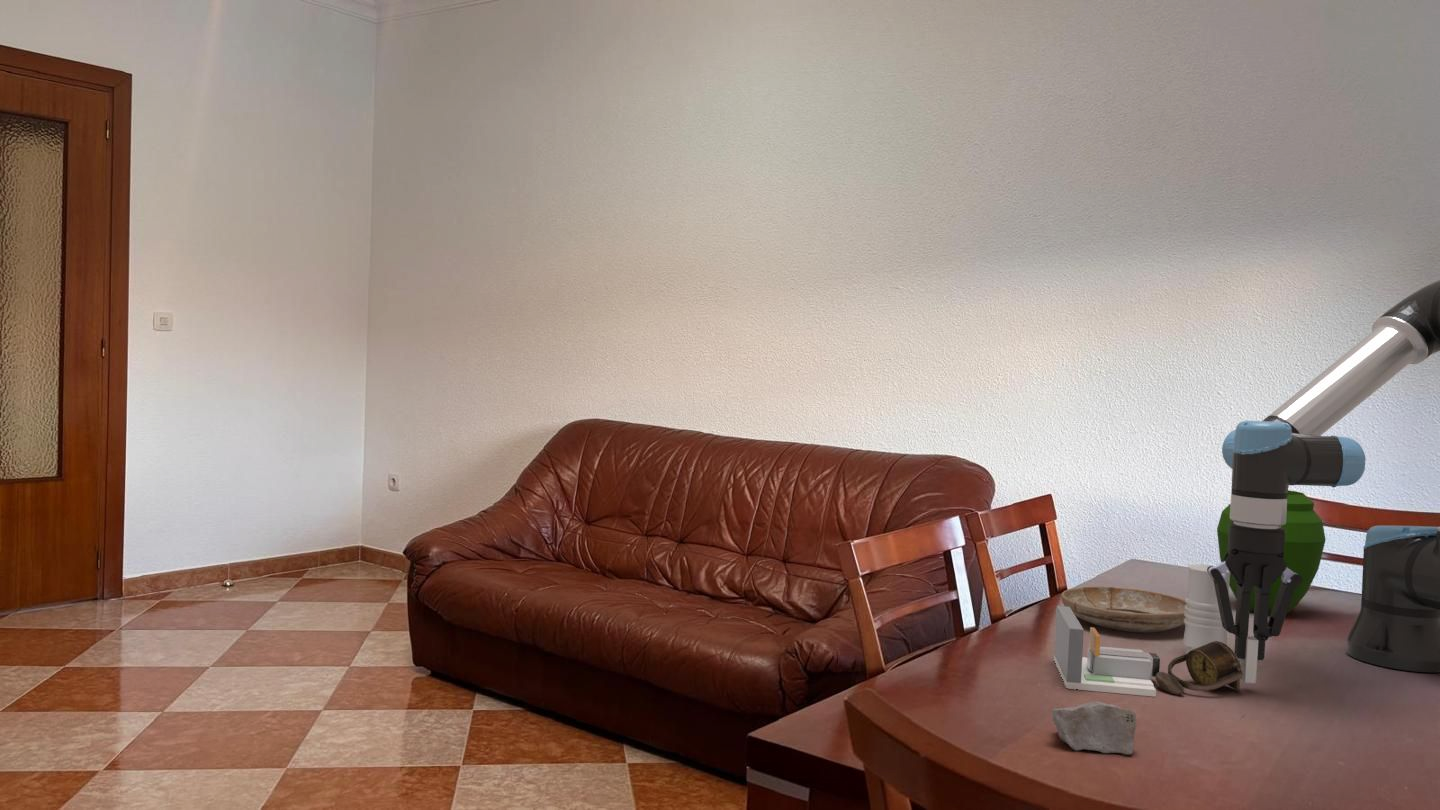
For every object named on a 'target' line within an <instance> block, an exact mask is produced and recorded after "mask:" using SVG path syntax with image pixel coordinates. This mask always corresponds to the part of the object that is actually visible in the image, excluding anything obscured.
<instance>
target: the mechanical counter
mask: <svg viewBox="0 0 1440 810" xmlns="http://www.w3.org/2000/svg"><path fill="white" fill-rule="evenodd" d="M1183 662H1185V665H1186V667H1187V671H1188V673H1189V675H1190V677H1191V679H1192V680H1193V681H1194V682H1195V683H1192V682H1188V681H1186V680H1183V679H1180V678H1179V677H1178V676H1176V675H1175V674H1174V673H1173V671H1172V670H1173V668H1174V667H1175V665H1178V664H1181V663H1183ZM1240 664H1241V662H1240V661H1239V658H1237V657H1236V655H1235V653H1234V650H1233V649H1231V647H1230V646H1228V644H1227V645H1226V644H1224V643H1222V642H1219V641H1213V642H1210V643H1208V644H1206V645H1203V646H1201V647H1198V648H1196V649H1193V650H1191V651H1189V652H1188V653H1187V654H1182V655H1180V656H1178V657H1175V658H1173V659H1172V660H1171V661H1170V662H1169V663H1168V665H1167V672H1164V671H1159V672H1158V673H1157V674H1156V677H1155V680H1156V683H1157V684H1158V686H1159V688H1160V689H1161V690H1162V691H1164V692H1166V693H1169V694H1171V695H1176V696H1180V695H1182V694H1184V693H1185V689H1186V690H1190V691H1195V692H1197V691H1199V692H1200V691H1201V692H1203V691H1206V692H1207V691H1210V692H1212V691H1215V690H1217V689H1221V688H1222V687H1224V686H1228V687H1230V688H1231V689H1233V690H1235V691H1237V692H1239V691H1240V689H1241V688H1240V687H1241V685H1240V683H1241V680H1242V679H1241V678H1242V676H1243V673H1242V670H1241V665H1240Z"/></svg>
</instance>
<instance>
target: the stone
mask: <svg viewBox="0 0 1440 810" xmlns="http://www.w3.org/2000/svg"><path fill="white" fill-rule="evenodd" d="M1051 712H1052V721H1053V723H1054V725H1055V727H1056V729H1057V733H1058V734H1057V735H1058V737H1059V739H1060V740H1061V741H1062V742H1064V743H1066V745H1068V746H1069V747H1070V748H1071V749H1072V750H1074V751H1076V752H1078V751H1084V750H1087V751H1096V752H1100V753H1102V754H1112V753H1113V754H1114V753H1117V754H1122V755H1127V756H1128V755H1132V754H1133V752H1134V743H1135V734H1136V729H1137V718H1136V717H1137V714H1136V713H1135V711H1134V710H1133V709H1127V708H1121V707H1119V706H1117V705H1116V704H1109V703H1105V702H1102V701H1095V700H1094V701H1091V702H1085V703H1081V704H1079V705H1078V706H1074V707H1071V706H1070V707H1069V706H1068V707H1063V708H1053V709H1052V711H1051Z"/></svg>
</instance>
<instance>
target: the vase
mask: <svg viewBox="0 0 1440 810" xmlns="http://www.w3.org/2000/svg"><path fill="white" fill-rule="evenodd" d="M1230 505H1231V502H1230V503H1229V504H1228V505H1227V506H1226V507H1225V508H1224V509H1223V510H1222V511H1221V514H1220V517H1219V521H1218V524H1217V527H1216V533H1217V534H1216V535H1217V541H1218V551H1219V552H1218V553H1219V560H1220V562H1221V563H1222V562H1223V559H1224V557H1225V555H1226V554H1227V551H1228V535H1229V525H1231V523H1234V521H1233V520H1231V519H1230ZM1314 507H1315V502H1314V501H1313V500H1312V499H1311V498H1309V497H1308V496H1307V495H1306V494H1305V493H1304V492H1300V491H1296V490H1295V491H1294V490H1290V489H1288V498H1287V513H1286V524H1284V525H1281V527H1282V528H1283V529H1284V530H1285V545H1284V559H1285V561H1286V563H1287V568H1289V569H1290V570H1291V571H1293V572H1295V573H1297V574H1299V575H1301V576H1302V578H1303V580H1302V582H1301V583H1300V584H1299V585H1298V586H1297V588H1296V589H1295V590H1294V593H1293V596H1292V599H1291V602H1290V605H1289V608H1288V611H1287V614H1288V613H1290V612H1291V611H1293V609H1295V607H1297V606H1298V605H1299V603H1300V602H1301V601H1302V599H1303V598H1304V597H1305V596H1306V595H1307V593H1308V591H1309V590H1310V587H1311V585H1312V584H1313V582H1314V579H1315V577H1316V575H1317V573H1318V570H1319V568H1320V565H1321V560H1322V556H1323V552H1324V548H1325V544H1326V535H1325V533H1326V532H1325V529H1324V522H1323V520H1322V518H1321V517H1320V516H1319V514H1318V513H1317V512H1316V511H1315V509H1314ZM1281 577H1282V574H1281V575H1280V576H1279V577H1278V578H1277V580H1276V581H1275V582H1274V583H1273V584H1272V585H1271V592H1270V595H1269V607H1268V615H1269V616H1270V615H1271V612H1272V608H1273V605H1274V602H1275V599H1276V596H1277V593H1278V590H1279V587H1280V585H1281V583H1282V580H1281ZM1236 584H1237V582H1236V580H1235V579H1234V578H1233V576H1232V575H1230V581H1229V589H1230V590H1231V592H1232V593H1233V595H1234V597H1235V599H1236V600H1237V587H1236ZM1254 607H1255V586H1252V593H1251V595H1250V611H1249V612H1253V613H1254Z"/></svg>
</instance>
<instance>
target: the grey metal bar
mask: <svg viewBox="0 0 1440 810" xmlns="http://www.w3.org/2000/svg"><path fill="white" fill-rule="evenodd" d="M1088 643H1089V644H1088V646H1089V647H1090V648H1088V647H1087V651H1086V652H1087V653H1086V655H1087V667H1088V669H1089V670H1090V671H1093V655H1095V656H1099V655H1108V656H1119V657H1131V658H1143V659H1149V660H1150V661H1151V673H1150V677H1154V678H1156V674H1157V673H1158V672H1160V667H1161V658H1160V657H1159V656H1158V655H1157V653H1154V652H1145V651H1143V652H1132V651H1121V650H1109V649H1100V647H1101V635H1100V633H1099V632H1098V630H1097V629H1096V628H1095V627H1092V626H1090V629H1089V642H1088Z"/></svg>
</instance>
